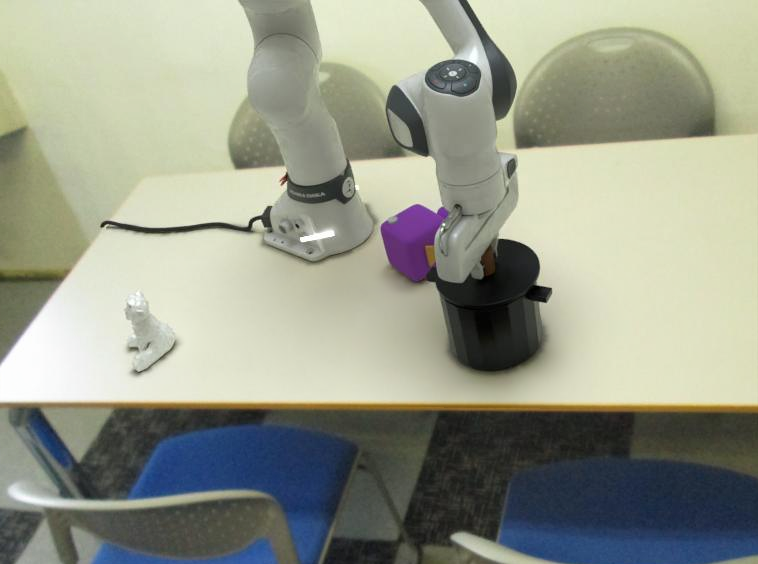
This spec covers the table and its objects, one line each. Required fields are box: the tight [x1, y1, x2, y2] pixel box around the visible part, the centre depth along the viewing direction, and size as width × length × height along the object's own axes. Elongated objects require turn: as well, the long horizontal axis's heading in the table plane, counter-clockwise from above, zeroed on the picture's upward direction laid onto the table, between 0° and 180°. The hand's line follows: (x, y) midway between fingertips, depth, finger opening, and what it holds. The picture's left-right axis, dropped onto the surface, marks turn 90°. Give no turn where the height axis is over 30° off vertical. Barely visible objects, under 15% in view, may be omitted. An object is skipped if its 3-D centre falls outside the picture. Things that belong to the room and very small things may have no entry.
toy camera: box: [379, 203, 450, 282], centre depth 143 cm, size 11×14×10 cm
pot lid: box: [434, 238, 541, 308], centre depth 118 cm, size 16×16×5 cm
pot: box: [425, 267, 553, 372], centre depth 124 cm, size 15×20×12 cm
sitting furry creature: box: [123, 289, 176, 373], centre depth 139 cm, size 10×9×12 cm
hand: (485, 267), depth 119 cm, fingers closed on pot lid, 2 cm apart
